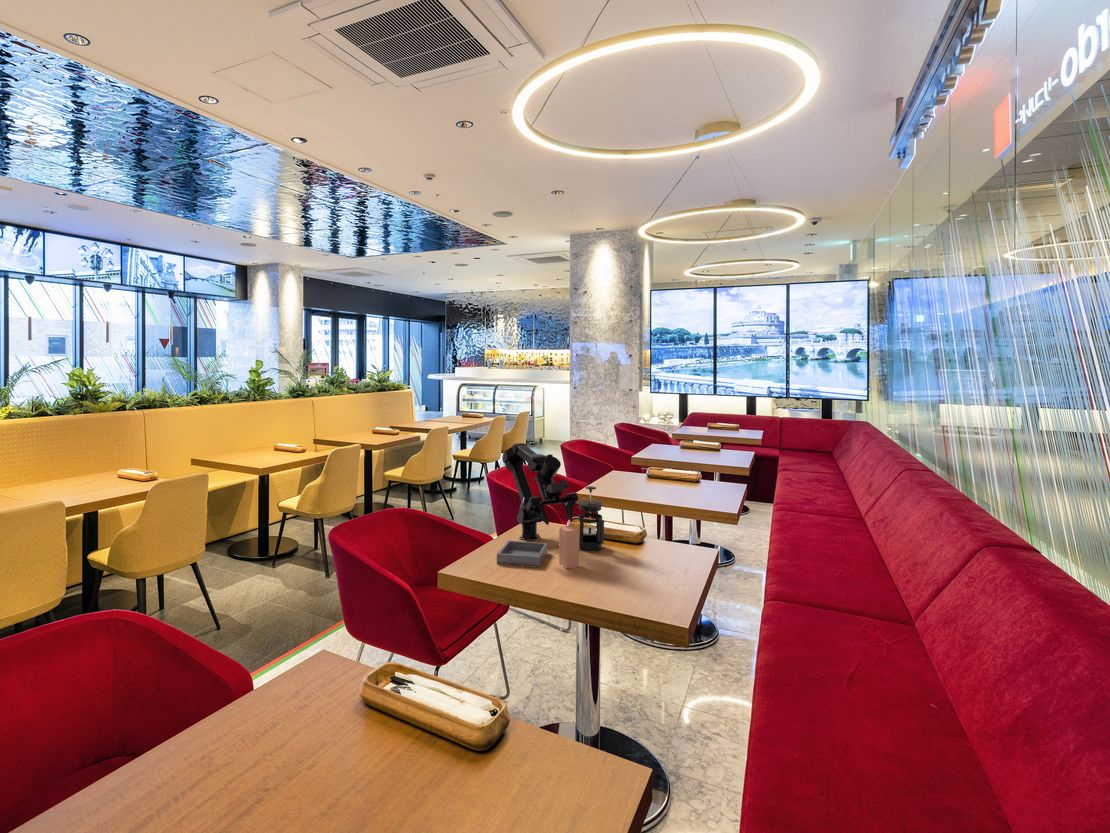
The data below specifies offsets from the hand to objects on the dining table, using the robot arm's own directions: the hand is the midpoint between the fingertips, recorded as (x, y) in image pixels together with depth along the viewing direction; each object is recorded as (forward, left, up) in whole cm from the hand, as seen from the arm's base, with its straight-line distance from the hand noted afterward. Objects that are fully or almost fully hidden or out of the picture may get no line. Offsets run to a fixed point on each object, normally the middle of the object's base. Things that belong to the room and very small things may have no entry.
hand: (560, 522), depth 196 cm
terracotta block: (+6, +4, -13) cm, 15 cm away
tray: (+2, -13, -13) cm, 18 cm away
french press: (-14, +9, -13) cm, 21 cm away
